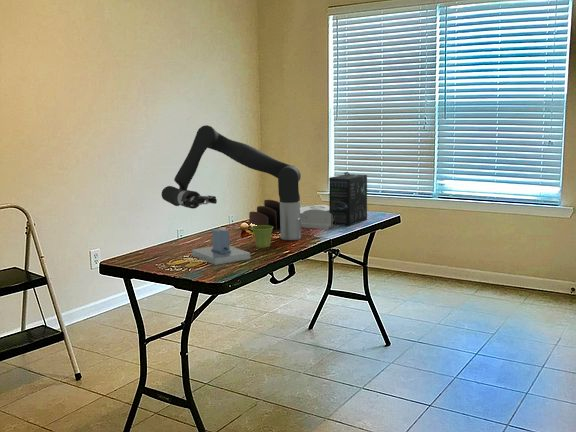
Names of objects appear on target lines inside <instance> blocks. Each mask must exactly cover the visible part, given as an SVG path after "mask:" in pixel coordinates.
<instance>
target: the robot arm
mask: <svg viewBox="0 0 576 432" xmlns="http://www.w3.org/2000/svg"><path fill="white" fill-rule="evenodd" d="M207 149H210V150H214V151H216V152H218V153H221V154H223V155H225V156H227V157H228V158H229V159H231V160H233V161H235V162H236V163H238V164H240V165H242V166H245V167H247V168H248V169H251V170H254V171H257V172H262V173H266V174H268V175H271V176H273V177H274V178H277V190H278V198H279V202H280V231H279V232H280V240H284V241H296V240H297V241H298V240H300V239H301V238H302V227H301V217H300V207H301V196H300V191H299V190H300V189H299V182H300V180H301V178H302V177H301V174H302V173H301V172H300V170H299V169H298V167H296V166H294V165H291V164H288V163H285V162H283V161H280V160H278V159H276V158H274V157H272V156H270V155H268V153H267V154H266V153H265V152H263V151H261V150H260V149H257V148H256V147H253V146H251V145H249V144H246V143H244V142H240V141H236V140H232V139H231V138H228V137H226V136H224V135H222V134H221V133H219V132H218V131H216V130H215V128H214V127H212V126H211V125H206V124H205V125H202V126H200V127H199V128H198V130H197V132H196V134H195V137H194V139H193V142H192V144H191V147H190V149H189V151H188V153H187V156H186V157H185V158H184V161H183V163H182V164H181V166H180V167H179V170H178V171H177V172H176V174H175V177H174V179H173V180H174V182H175V183H176V184H177V185H178V186H179V188H178V187H175V186H172V185H168V186H166V187H164V188H163V189H162V190H161V198H162V200H164V201H166V202H167V203H169V204H171V205H173V206H175V207H180V206H181V207H184V208H189V209H193V210H194V209H197V208H199V206H202V205H208V204H213V205H214V204H215V205H216V204H217V202H218V201H217V200H218V199H217V197H216V196H214V195H201V194H200V193H199V192H198V191H195V190H189V189H188V187H189V185H190V183H191V181H192V179H193V178H194V176H195V174H196V172H197V171H198V167H199V164H200V161H201V159H202V157H203V155H204V153H205V151H206V150H207Z"/></svg>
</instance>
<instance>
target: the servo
mask: <svg viewBox="0 0 576 432" xmlns="http://www.w3.org/2000/svg"><path fill="white" fill-rule="evenodd" d="M211 237H212V238H211V239H212V247H213V248H212V249H211V250H213V252H215V253H218V254H223V253H229V252H231V250H230V247H229V246H230V230H228V229H226V227H219V228H214V229H213V228H212V229H211Z"/></svg>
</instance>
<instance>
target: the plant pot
mask: <svg viewBox="0 0 576 432" xmlns="http://www.w3.org/2000/svg"><path fill="white" fill-rule="evenodd" d="M272 229H273V226H269V225H258V226H253V227H251V230H252V232H253V237H254V241H255V247H256V248H258V249H265V248H270V247H271V240H272V233H273V232H272Z"/></svg>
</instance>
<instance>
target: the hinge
mask: <svg viewBox="0 0 576 432" xmlns="http://www.w3.org/2000/svg"><path fill="white" fill-rule="evenodd" d="M332 223H333V216H332V214H331V213H329V212H327V211H324V210H319V209H312V210H307V211H304V212H303V215H302V219H301V228H306V229H320V230H329V229H331V228H332V229H333V224H332Z"/></svg>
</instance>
